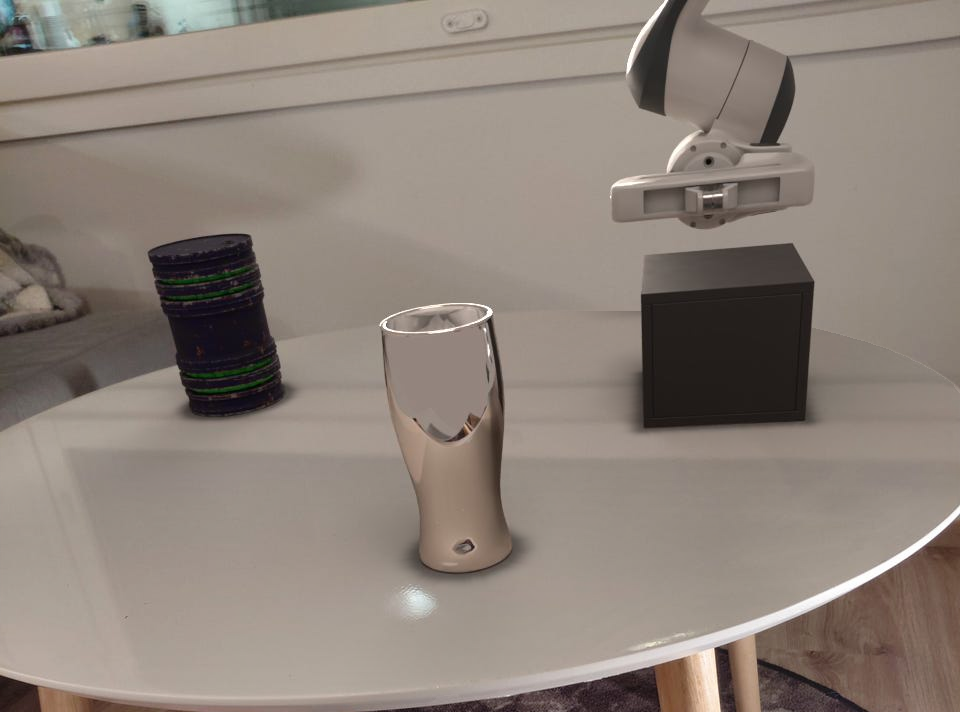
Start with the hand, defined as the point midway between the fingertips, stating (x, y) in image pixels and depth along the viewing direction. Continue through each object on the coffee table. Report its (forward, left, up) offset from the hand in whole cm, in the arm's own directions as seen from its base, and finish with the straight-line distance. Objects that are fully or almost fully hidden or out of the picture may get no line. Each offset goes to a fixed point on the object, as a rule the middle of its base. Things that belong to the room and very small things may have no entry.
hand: (712, 203), depth 94 cm
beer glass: (+45, +25, -13) cm, 53 cm away
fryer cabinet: (+13, +15, -12) cm, 24 cm away
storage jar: (+44, -21, -13) cm, 51 cm away
